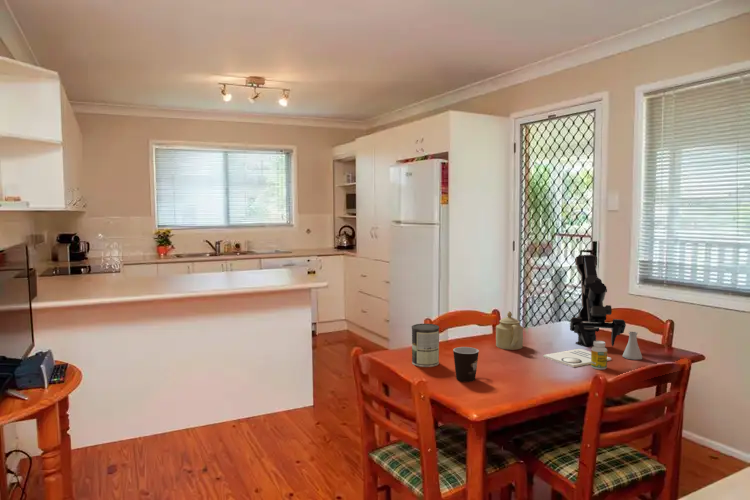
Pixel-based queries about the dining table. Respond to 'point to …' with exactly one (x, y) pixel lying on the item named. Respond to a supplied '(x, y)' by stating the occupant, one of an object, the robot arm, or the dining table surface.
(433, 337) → the coffee can
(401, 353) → the dining table surface
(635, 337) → the flask
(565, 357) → the notepad
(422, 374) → the dining table surface
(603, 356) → the supplement bottle
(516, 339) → the sugar bowl
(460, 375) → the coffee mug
